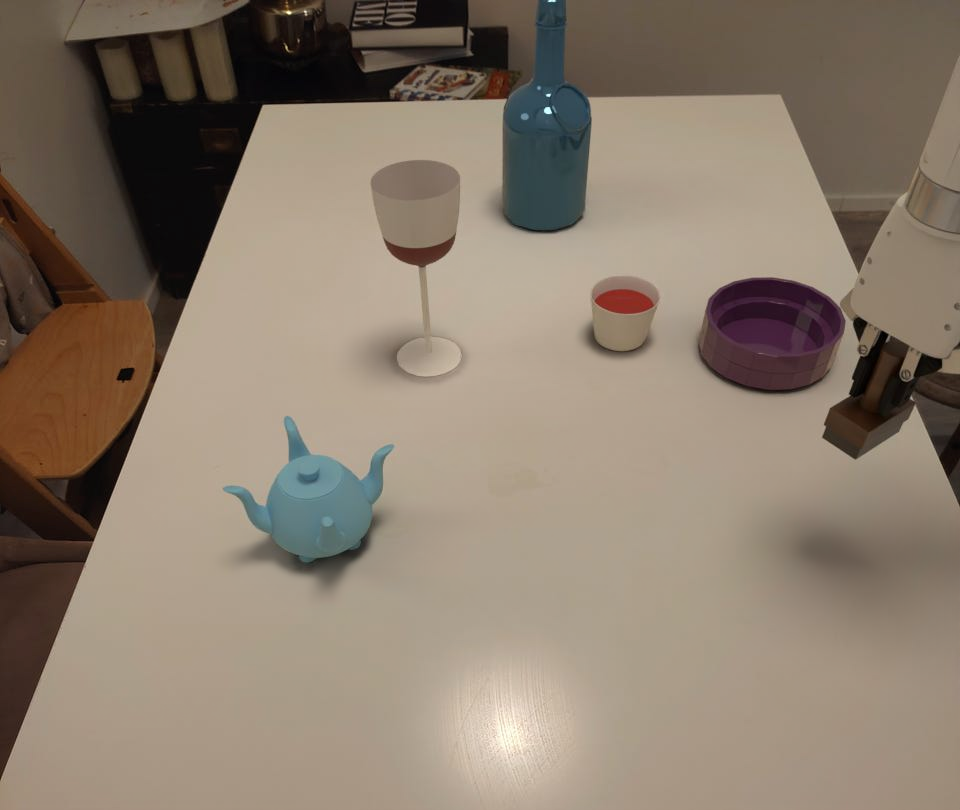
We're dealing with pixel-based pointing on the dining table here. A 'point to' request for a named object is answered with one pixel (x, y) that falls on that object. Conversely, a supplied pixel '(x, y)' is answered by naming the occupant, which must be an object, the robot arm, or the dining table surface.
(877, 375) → the brush
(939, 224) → the robot arm
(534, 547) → the dining table surface
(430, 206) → the wineglass
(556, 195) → the wine bottle
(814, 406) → the dining table surface
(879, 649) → the dining table surface
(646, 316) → the candle
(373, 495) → the teapot
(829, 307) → the bowl
